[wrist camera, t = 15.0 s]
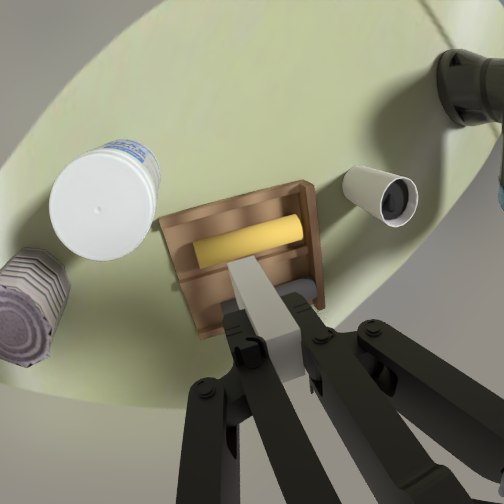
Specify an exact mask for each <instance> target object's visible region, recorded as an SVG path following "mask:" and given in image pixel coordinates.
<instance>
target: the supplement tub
mask: <svg viewBox="0 0 504 504" xmlns="http://www.w3.org/2000/svg"><path fill="white" fill-rule="evenodd" d="M160 176H161V175H160V168H159V164H158V162H157V160H156V158H155V156H154V154H153V153H152V152H151V151H150V150H149V149H148V148H147V147H146V146H144V145H143V144H141V143H139V142H137V141H133V140H128V139H121V140H116V141H112V142H109V143H107V144H105V145H102V146H100V147H98V148H95V149H93V150H91V151H88V152H86V153H84V154H82V155H80V156H78V157H77V158H75V159H74V160H72V161H71V162H70V163H69V164H68V165H67V166H66V167H65V168H64V169H63V170H62V171H61V172H60V174H59V175H58V177H57V178H56V180H55V182H54V184H53V186H52V189H51V193H50V197H49V215H50V220H51V223H52V226H53V229H54V231H55V233H56V235H57V236H58V238H59V239H60V241H61V242H62V243H63V244H64V245H65V246H66V247H67V248H68V249H69V250H70V251H72V252H73V253H75V254H77V255H78V256H80V257H83V258H86V259H89V260H93V261H110V260H115V259H118V258H121V257H123V256H125V255H127V254H129V253H130V252H132V251H133V250H134V249H135V248H136V247H137V246H138V245H139V244H140V243H141V242H142V241H143V239H144V237H145V236H146V234H147V232H148V230H149V228H150V226H151V224H152V221H153V217H154V214H155V209H156V203H157V197H158V191H159V185H160Z"/></svg>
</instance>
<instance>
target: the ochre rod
mask: <svg viewBox="0 0 504 504" xmlns="http://www.w3.org/2000/svg"><path fill="white" fill-rule="evenodd" d="M302 238H303V230H302V226H301V223H300V220H299V218H298V217H297V215H295V214H293V215H289V216H285V217H282V218H278V219H274V220H270V221H267V222H263V223H260V224H256V225H252V226H249V227H245V228H241V229H238V230H234V231H231V232H227V233H224V234H220V235H216V236H213V237H209V238H206V239H202V240H199V241H195V242H193V245H194V249H195V253H196V256H197V260H198V263H199V266H200V269H203V268H206V267H209V266H213V265H216V264H220V263H223V262H227V261H230V260H234V259H237V258H240V257H244V256H247V255H251V254H254V253H257V252H261V251H264V250H268V249H271V248H275V247H278V246H281V245H285V244H288V243H292V242H295V241H299V240H302Z"/></svg>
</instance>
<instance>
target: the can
mask: <svg viewBox="0 0 504 504" xmlns="http://www.w3.org/2000/svg"><path fill="white" fill-rule="evenodd" d="M70 287H71V285H70V283H69V280H68V277H67V275H66V272H65V270H64V267H63V264H61V263H60V262H59V261H58V260H56V259H55V258H54V257H53V256H51V255H50V254H49V253H48V252H47V251H45V250H44V249H33V248H23V249H22V250H20V251H19V252H18V253H17V254H16V255H14V256H13V257H12V258H11V259H10V260H9V261H8V262H7V263H6V264H5V266H4V267H3V268H2V269H1V270H0V359H3V360H5V361H8V362H11V363H13V364H16V365H19V366H22V367H25V368H28V367H30V366H32V365H34V364H36V363H38V362H40V361H42V360H44V359H46V358H48V357H50V345H51V343H52V340H53V337H54V334H55V332H56V329H57V326H58V324H59V321H60V319H61V316H62V313H63V311H64V309H65V306H66V303H67V299H68V295H69V291H70Z"/></svg>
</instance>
